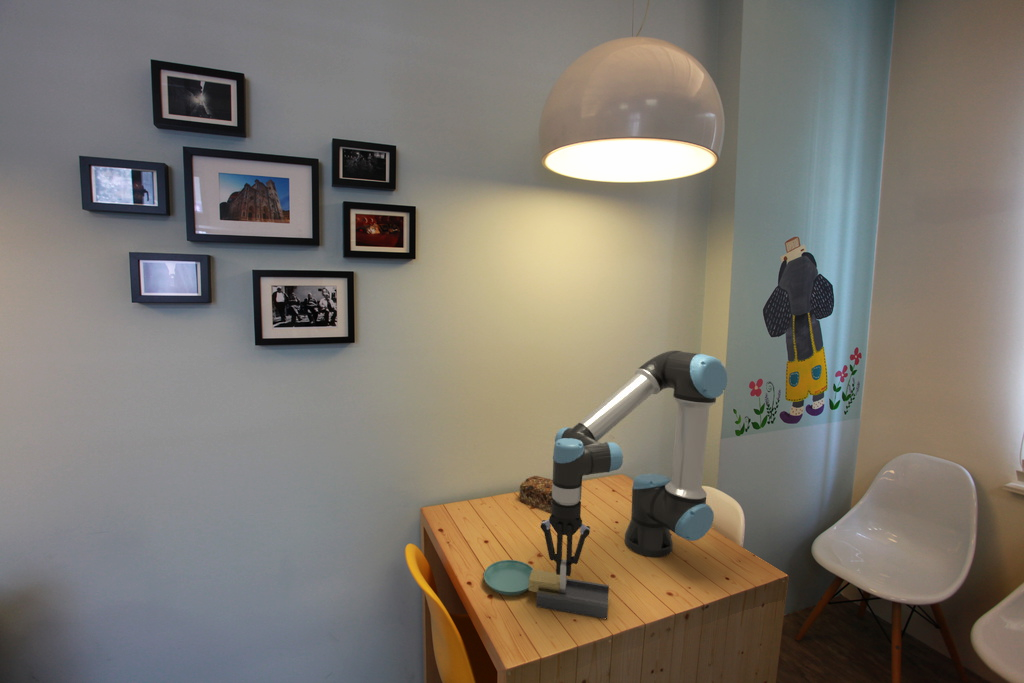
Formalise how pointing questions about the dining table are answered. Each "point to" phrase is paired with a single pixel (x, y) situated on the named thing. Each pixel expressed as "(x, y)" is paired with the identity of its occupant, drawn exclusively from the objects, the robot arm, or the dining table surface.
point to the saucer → (508, 577)
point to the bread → (537, 493)
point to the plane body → (577, 599)
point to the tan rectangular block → (544, 581)
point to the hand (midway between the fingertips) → (562, 585)
